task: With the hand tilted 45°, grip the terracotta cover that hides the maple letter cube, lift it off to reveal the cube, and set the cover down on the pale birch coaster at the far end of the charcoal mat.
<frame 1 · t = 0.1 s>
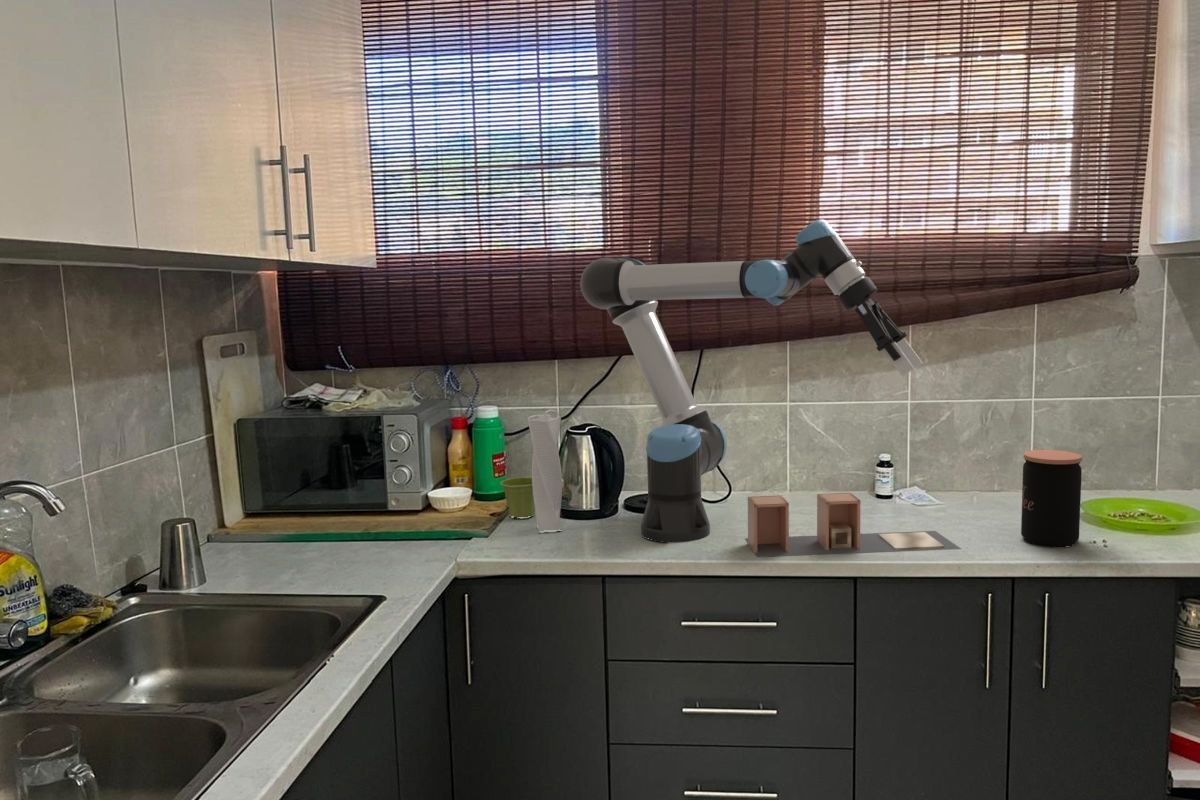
hand: (913, 369, 181), 36 cm above the countertop, tool tilted 35°, fingers open, 13 cm apart
letter cube: (838, 535, 182), in the cover a, touching mat
cover b: (768, 547, 182), resting on mat
skyscraper: (549, 530, 202), on the countertop
plant pot: (521, 517, 215), on the countertop
mat: (849, 545, 183), on the countertop
cover a: (838, 520, 182), on the mat
coffee jar: (1049, 541, 182), on the countertop
coaster: (910, 541, 183), resting on mat
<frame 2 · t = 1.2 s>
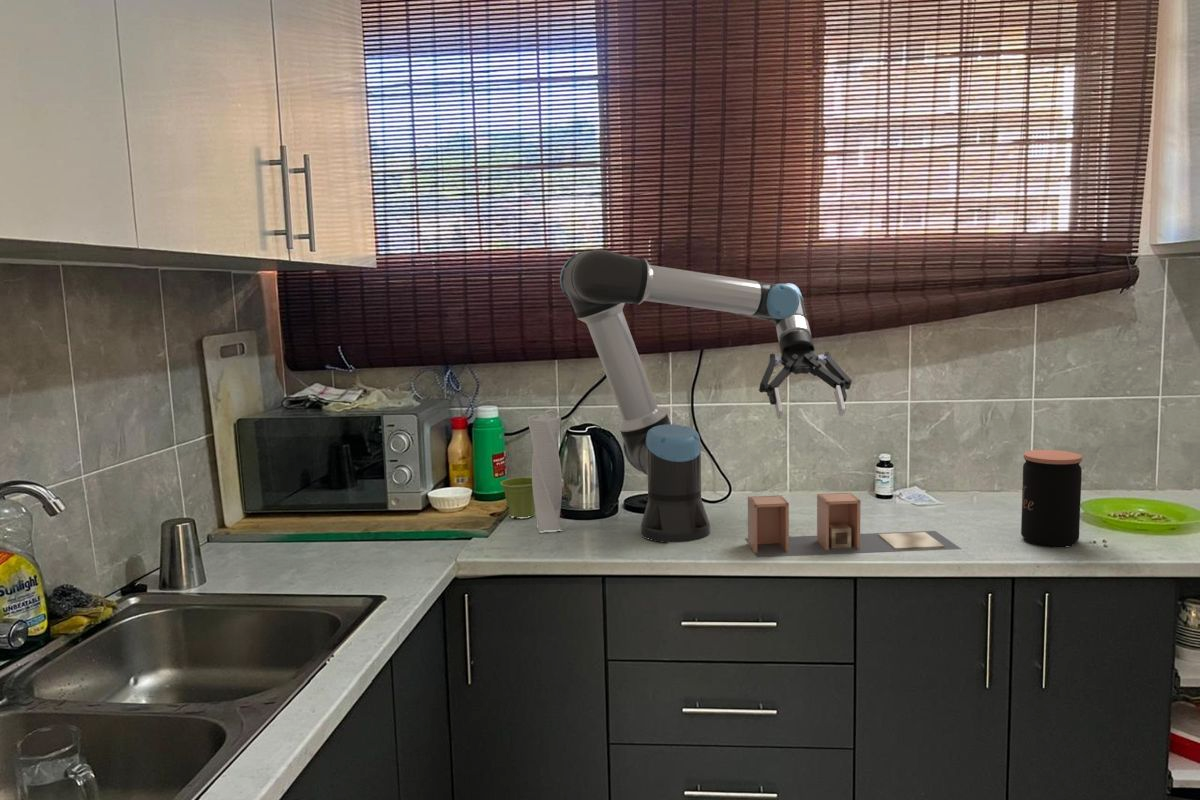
hand: (811, 414, 192), 26 cm above the countertop, tool tilted 45°, fingers open, 13 cm apart
nothing on the countertop moved.
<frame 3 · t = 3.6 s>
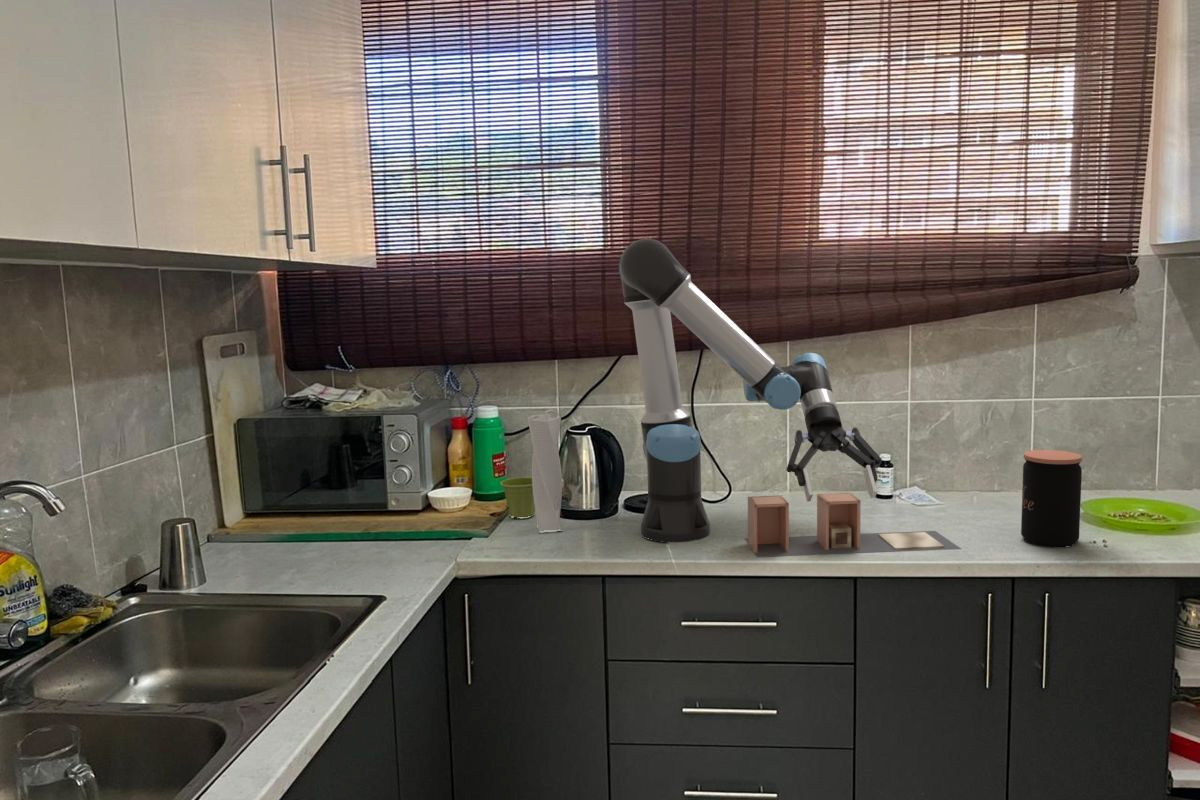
hand: (842, 496, 186), 9 cm above the countertop, tool tilted 45°, fingers open, 13 cm apart
nothing on the countertop moved.
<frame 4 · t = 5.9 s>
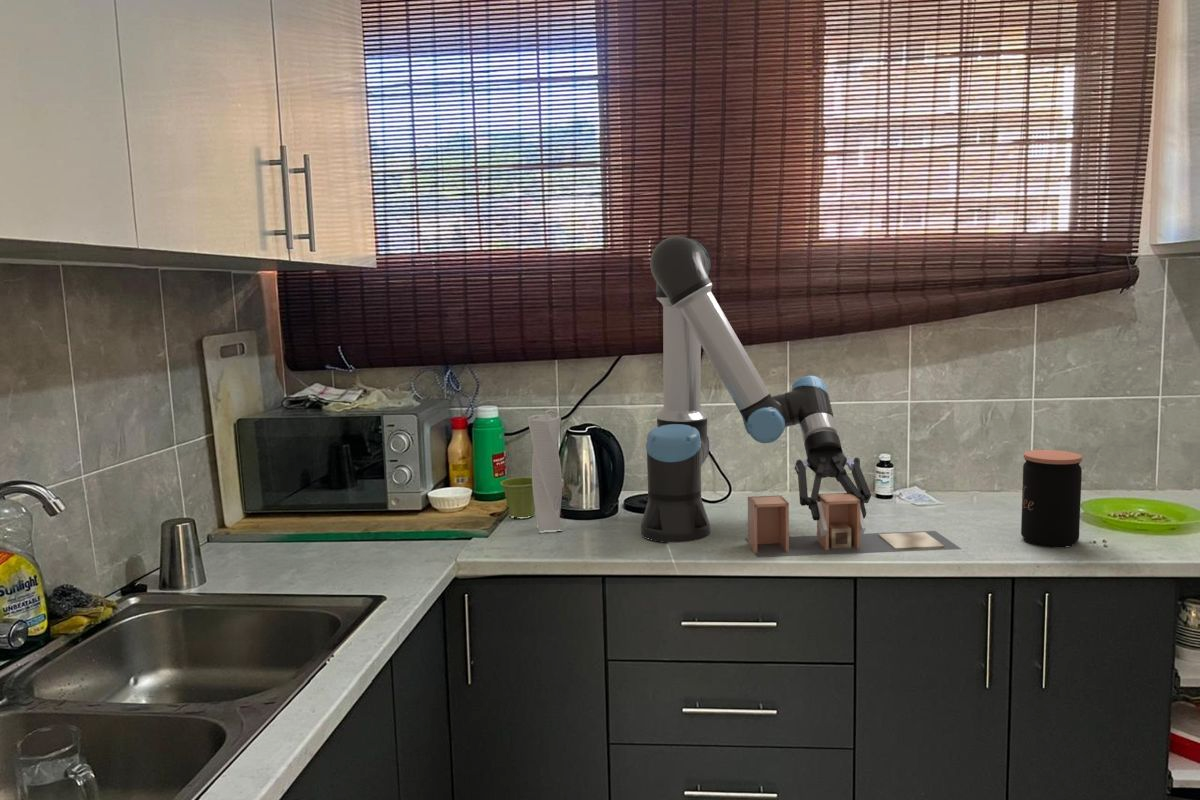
hand: (843, 532, 179), 4 cm above the countertop, tool tilted 45°, fingers closed on cover a, 7 cm apart
cover a: (838, 520, 182), on the mat, touching gripper
everything else where it was.
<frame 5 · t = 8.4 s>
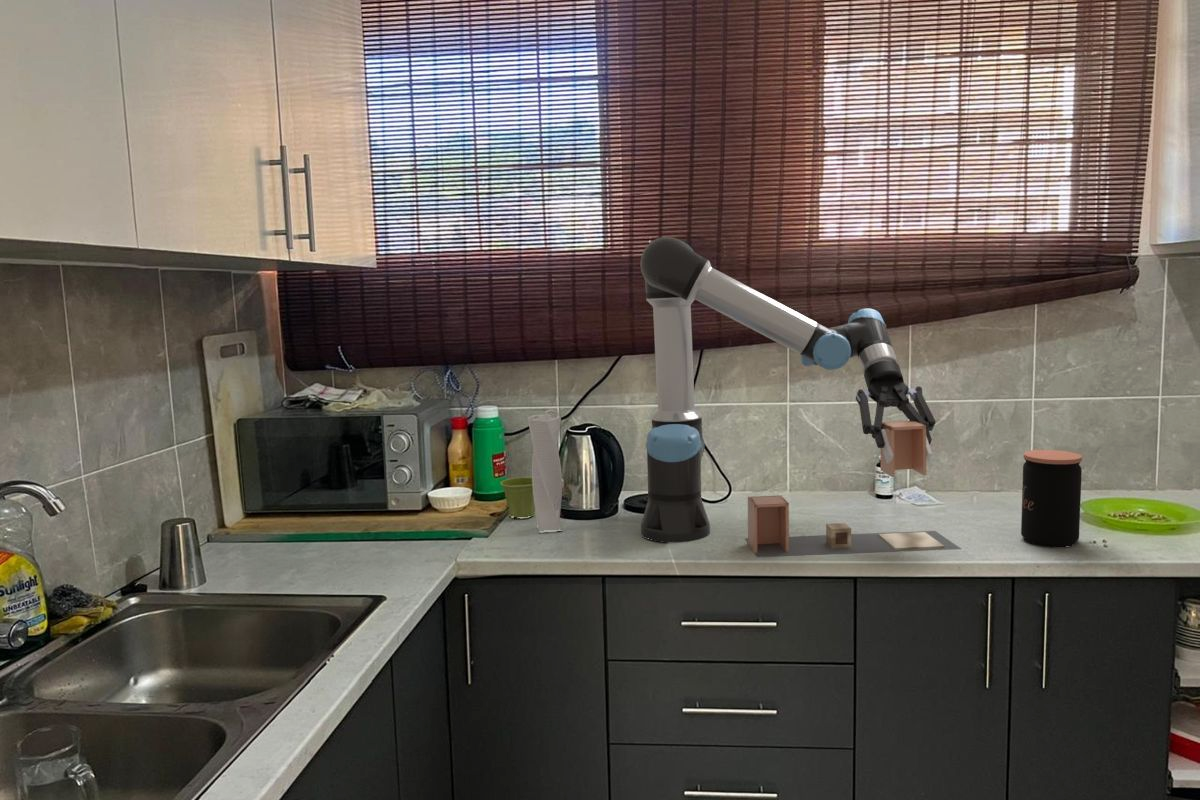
hand: (909, 458, 177), 19 cm above the countertop, tool tilted 45°, fingers closed on cover a, 7 cm apart
cover a: (902, 448, 180), point 20 cm above the countertop, touching gripper
everything else where it was.
when the fingers open (6 cm above the countertop, at t = 11.2 s): cover a drops 1 cm, resting on coaster.
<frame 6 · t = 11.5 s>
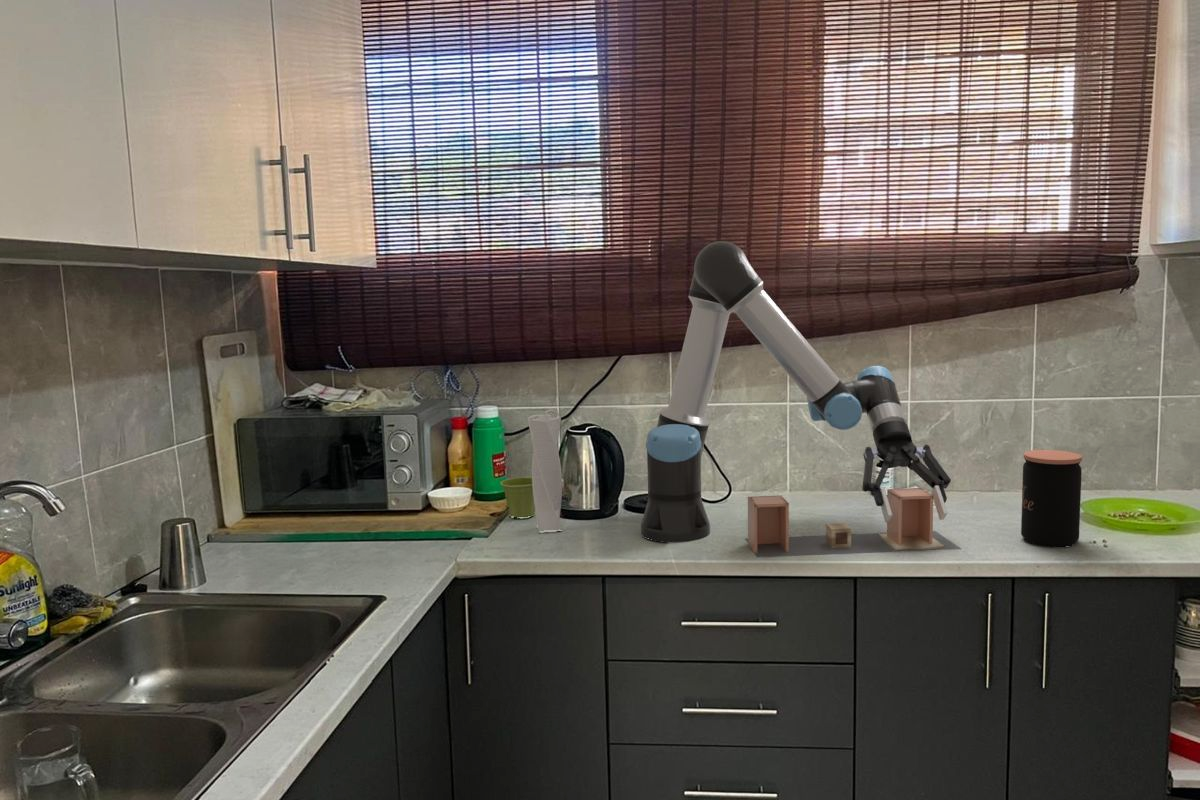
hand: (916, 517, 179), 6 cm above the countertop, tool tilted 45°, fingers open, 10 cm apart
cover a: (909, 516, 182), on the coaster, point 6 cm above the countertop
everything else where it was.
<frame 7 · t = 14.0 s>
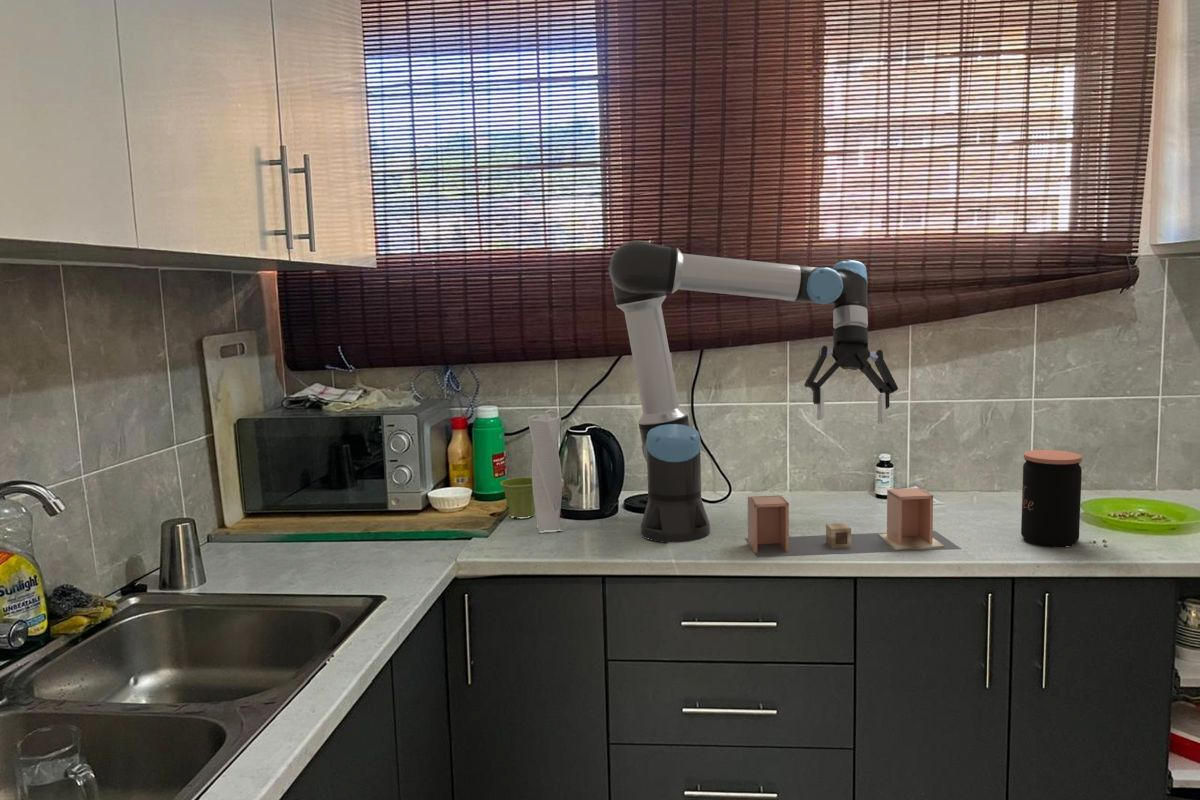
hand: (851, 421, 195), 24 cm above the countertop, tool tilted 20°, fingers open, 13 cm apart
nothing on the countertop moved.
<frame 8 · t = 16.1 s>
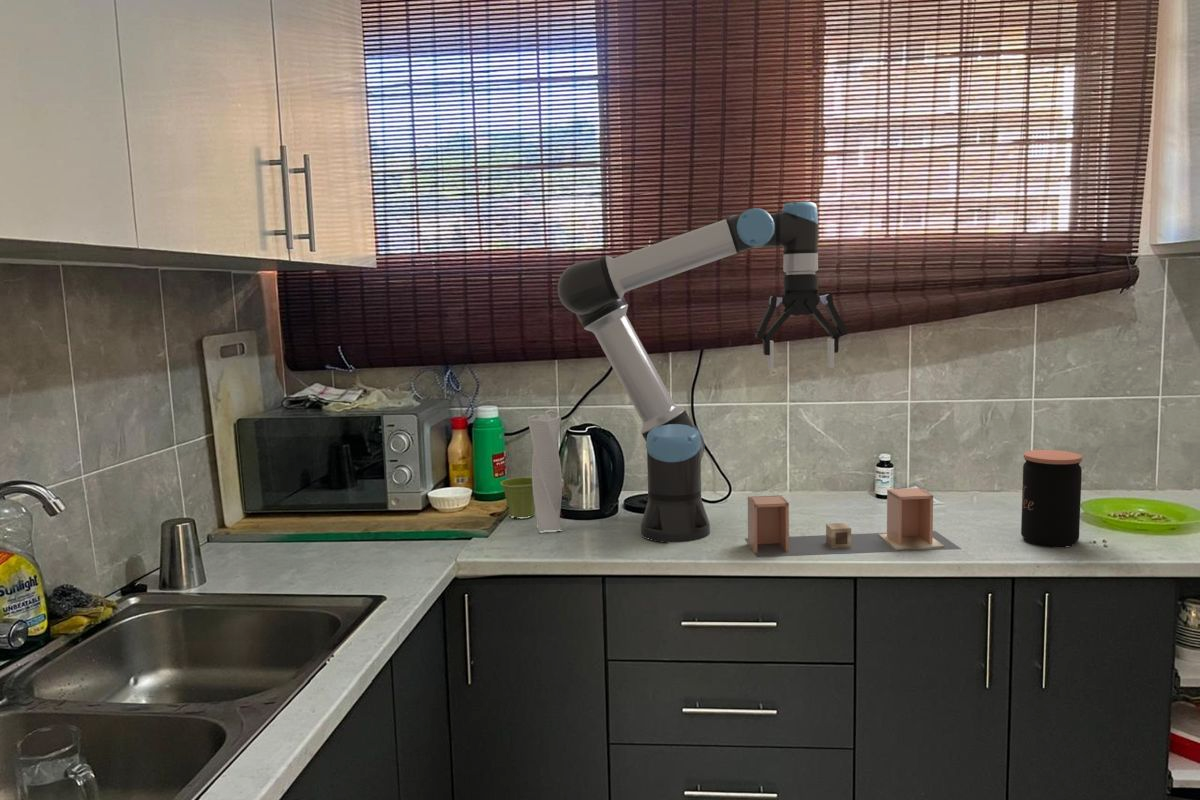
hand: (800, 368, 200), 35 cm above the countertop, tool pointing down, fingers open, 13 cm apart
nothing on the countertop moved.
at the end: cover a inside the target area on the coaster (0.2 cm from its centre), point 5.4 cm above the coaster's base; cover a tilted 0°; letter cube moved 0.0 cm from its start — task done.
